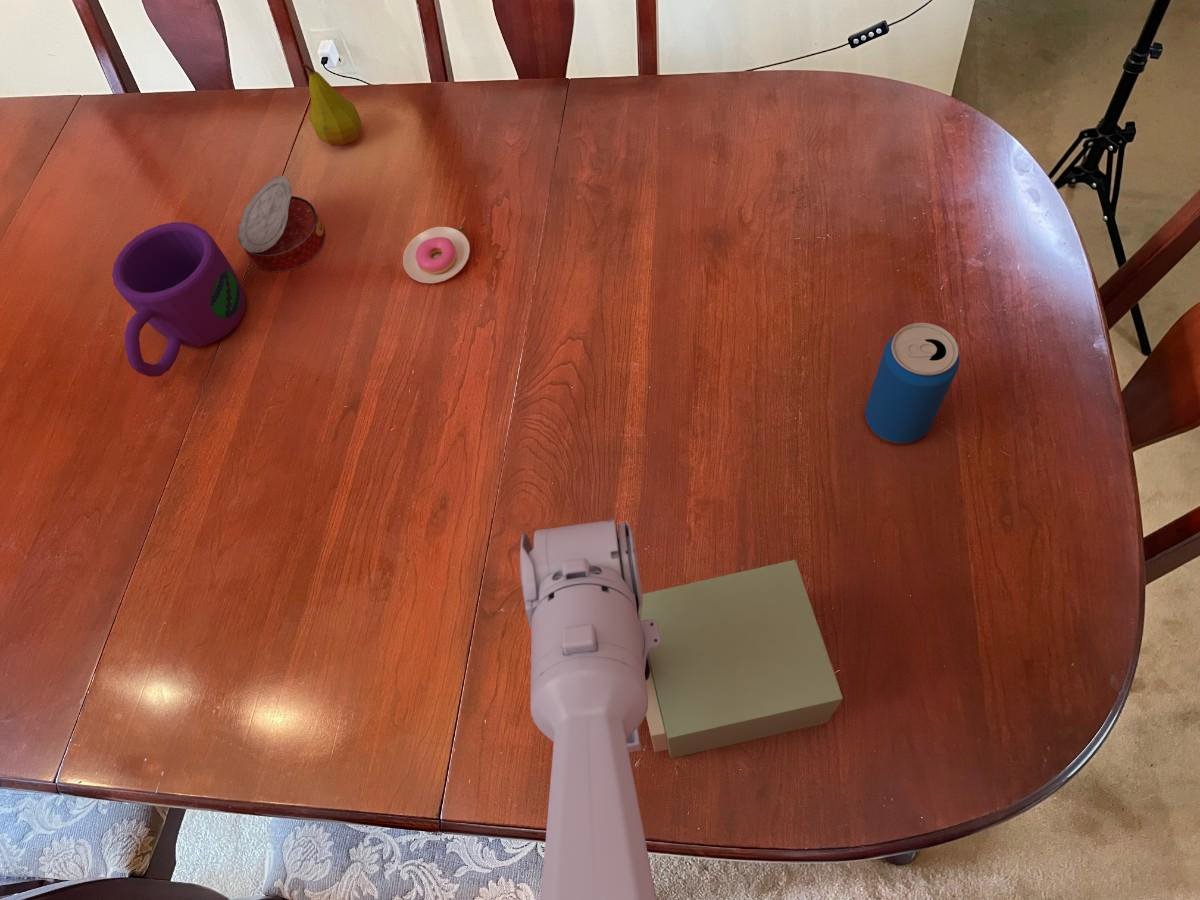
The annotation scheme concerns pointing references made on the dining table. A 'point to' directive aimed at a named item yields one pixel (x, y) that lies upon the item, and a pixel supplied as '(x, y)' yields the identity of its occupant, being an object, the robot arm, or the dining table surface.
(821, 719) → the cabinet
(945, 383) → the beverage can
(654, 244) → the dining table surface
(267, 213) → the canned food
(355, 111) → the fruit
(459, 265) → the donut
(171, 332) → the mug
